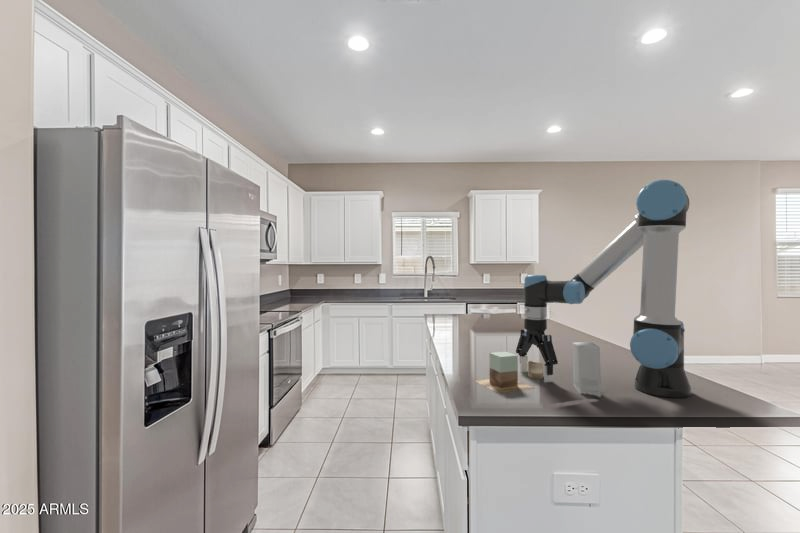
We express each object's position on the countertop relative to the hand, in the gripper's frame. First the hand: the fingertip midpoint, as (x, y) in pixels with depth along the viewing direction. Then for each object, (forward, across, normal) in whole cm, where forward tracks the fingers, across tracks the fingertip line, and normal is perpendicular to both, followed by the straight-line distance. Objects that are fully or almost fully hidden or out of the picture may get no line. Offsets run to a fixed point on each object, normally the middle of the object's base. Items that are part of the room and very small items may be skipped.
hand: (535, 378), depth 140 cm
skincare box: (0, +18, +5) cm, 19 cm away
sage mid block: (-6, +4, -16) cm, 17 cm away
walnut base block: (-1, +4, -16) cm, 17 cm away
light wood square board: (0, +4, -16) cm, 16 cm away
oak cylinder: (0, 0, 0) cm, 0 cm away
